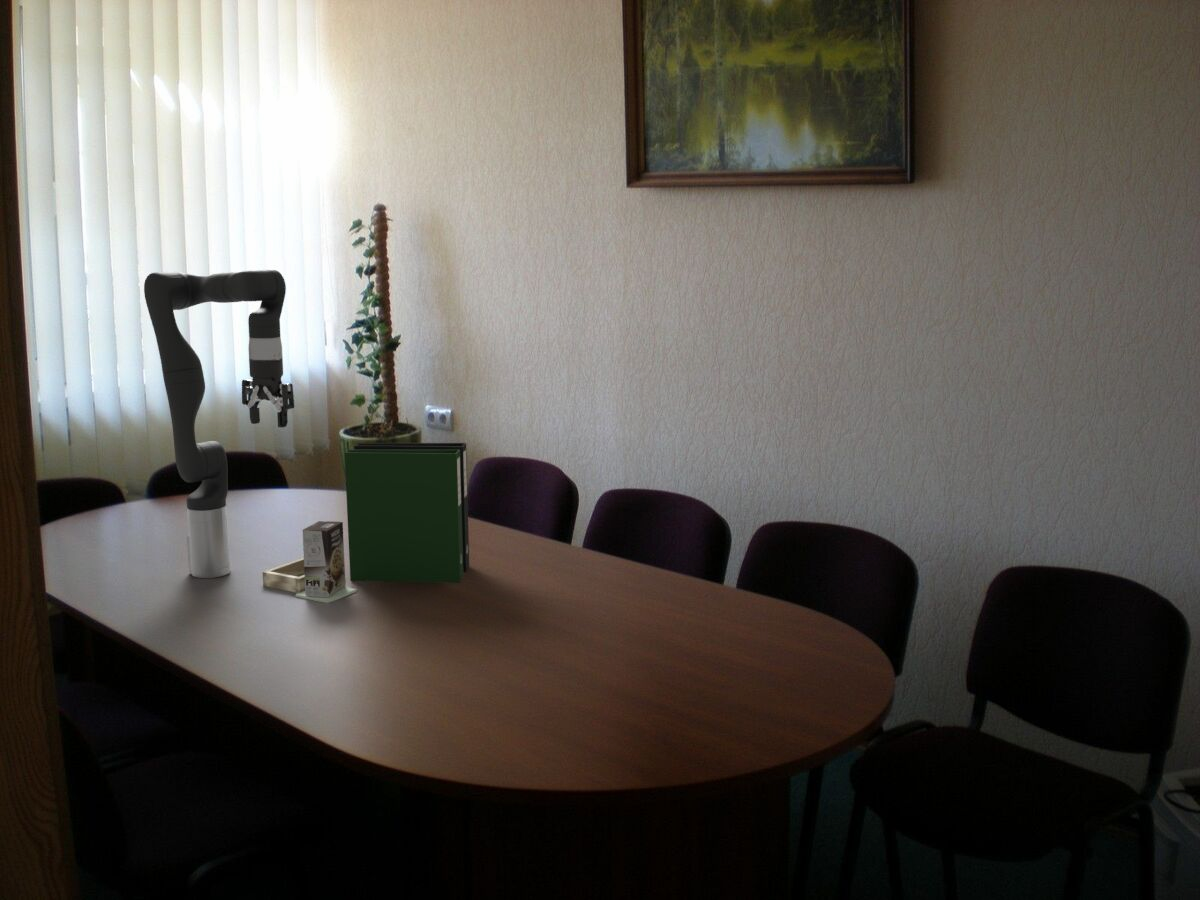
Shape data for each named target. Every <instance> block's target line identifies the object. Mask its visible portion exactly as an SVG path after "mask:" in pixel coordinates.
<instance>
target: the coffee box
mask: <svg viewBox="0 0 1200 900" xmlns="http://www.w3.org/2000/svg"><path fill="white" fill-rule="evenodd" d="M302 546H303V548H302V549H303V558H304V572H305V573H304V575H305V595H306V596H314V597H325V598H329V597H331V596H332V595H334V594H335V593H337V592H338V591H340V590H341V589H343V588H344V587H347V586H346V569H345V568H346V562H345V549H344V548H345V546H344V522H343V521H334V520H332V521H330V520H329V521H321V520H320V521H316V522H314V523H313V524H311V525H309V526H307V527H305V528H303V529H302Z"/></svg>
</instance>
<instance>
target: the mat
mask: <svg viewBox="0 0 1200 900" xmlns="http://www.w3.org/2000/svg"><path fill="white" fill-rule="evenodd" d="M357 592H358V589H357V588H353V587H349V586H348V587H347V586H345V587H344V588H343V589H341V590H340V591H338V592H337V593H335V594H334V595H332V596H331V597H329V598H325V597H314V596H306V595H305V591H303V592H300V593H296V594H295V598H300V599H305V600H310V601H315V602H320V603H326V604H329V603H333V602H334V601H337V600H340V599H342V598H344V597H347V596H349V595H352V594H354V593H357Z"/></svg>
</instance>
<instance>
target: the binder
mask: <svg viewBox="0 0 1200 900" xmlns="http://www.w3.org/2000/svg"><path fill="white" fill-rule="evenodd" d="M467 462H468V461H467V443H466V442H357V445H354V446H353V449H348V451H346V452H344V470H345V471H344V472H345V486H346V487H345V491H346V493H345V494H346V513H347V514H346V515H347V535H348V537H347V538H348V554H349V555H348V556H349V577H350V578H349V579H350V582H384V583H387V582H391V583H392V582H393V583H396V582H397V583H434V584H435V583H436V584H437V583H443V584H447V583H448V584H460V583H461V582H462V580H463V579H464V573H467V572H466V571H468V569H469V568H470V540H469V538H470V537H469V536H470V535H469V506H468V503H469V502H468V501H469V499H468V495H469V494H468V468H467V467H468V463H467Z"/></svg>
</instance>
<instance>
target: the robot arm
mask: <svg viewBox="0 0 1200 900" xmlns="http://www.w3.org/2000/svg"><path fill="white" fill-rule="evenodd" d="M286 286H287V285H286V281H285V279H284V276H283V275H282V273H281V272H280V271H279V270H276V269H272V268H271V269H251V270H243V271H228V272H227V271H226V272H219V273H218V272H217V273H212V274H210V275H195V274H190V273H185V272H180V271H159V272H151V273H149V274H148V275H147V276H146V278H145V281H144V283H143V292H144V293H143V294H144V300H145V305H146V307H147V311H148V314H149V317H150V321H151V325H152V328H153V332H154V335H155V339H156V344H157V349H158V354H159V359H160V363H161V364H160V365H161V371H162V378H163V383H164V387H165V393H166V397H167V400H168V406H169V407H168V408H169V411H170V413H169V414H170V418H171V419H170V420H171V425H172V434H173V447H174V448H173V449H174V457H175V458H174V459H175V464H176V465H175V466H176V469H177V471H178V474H179V476H180V478H181V479H182V480H183V481H184V482H186V483H197V482H201V481H202V482H201V484H200V485H199V487H197V489H196V490H194V491H193V492H191V493H190V494H189V495H188V496H187V498H186V511H187V524H188V526H187V527H188V536H186V548H187V549H186V550H187V565H188V574H191V576H192V577H194V578H197V579H212V578H213V579H214V578H219V577H223V576H226V575H228V574H230V573H231V561H230V560H231V559H230V543H229V542H230V541H229V527H228V515H227V514H228V512H227V497H228V493H229V492H228V491H229V489H228V488H229V487H228V485H229V483H228V482H229V481H228V476H229V475H228V458H227V454H226V450H225V448H224V446H223V444H221V443H220V442H218V441H216V440H209V441H202V442H197V441H196V434H195V433H196V432H195V426H196V425H195V423H196V418H197V416H198V412H199V410H200V406H201V404H202V401H203V398H204V396H205V392H206V383H205V382H206V381H205V376H204V371H203V365H202V362H201V359H200V357H199V356H198V354H197V352H196V351H195V350H194V348H193V347H192V346H191V345H190V343H189V342H188V341H187V340H186V338H185V337H184V335H183V334H182V333H181V331H180V329H179V327H178V324H177V320H176V317H175V314H174V311H181V310H184V309H187V308H190V307H193V306H197V305H199V304H200V305H201V304H204V303H221V304H222V303H223V304H224V303H228V304H229V303H241V302H260V305H259V308H258V309H256V310H255V311H253V312H251V313H250V314H249V316H248V320H247V322H248V337H249V338H248V339H249V340H248V365H249V376H250V377H251V378H246V379H242V380H241V403H242V405H243V406H244V405H246V406H247V407H248V410H249V420H250V423H251V425H256V424H260V422H261V415H260V414H261V413H260V407H259V406H260V404H261V403H262V402H263V400H265V401H270V402H271V404H272V405H274V406H275V408H276V410H277V411H276V412H277V413H276V415H277V416H276V417H277V427H278V428H282V429H283V428H286V427H288V426H287V425H288V422H289V421H288V411H289V410H292V409H294V408H295V397H294V396H295V395H294V387H293V386H294V385H293V383H292V382H287V383H283V381H282V377H283V376H284V361H283V358H284V357H283V346H282V345H283V343H282V338H281V320H280V319H281V315H282V312H283V307H284V302H285V297H286V292H287V290H286V289H287V287H286Z"/></svg>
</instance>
